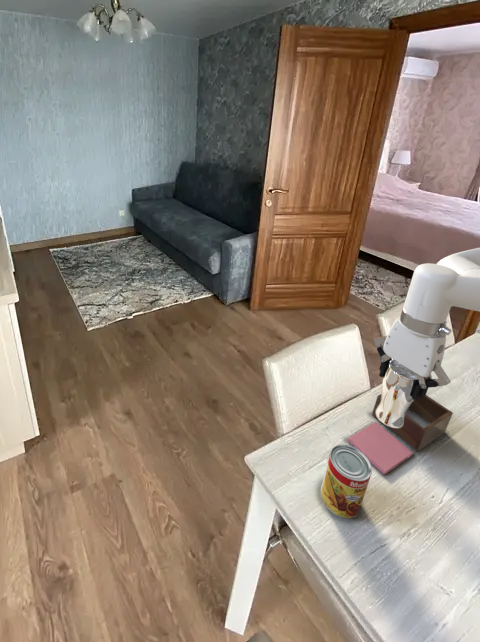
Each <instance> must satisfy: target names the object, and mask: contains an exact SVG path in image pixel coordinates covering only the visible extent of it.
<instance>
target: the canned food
mask: <svg viewBox="0 0 480 642" xmlns="http://www.w3.org/2000/svg"><path fill="white" fill-rule="evenodd" d="M372 473H373V467H372V463H371V462H370V461H369V460H368V459H367V457H366V456H365V455H364V454H363V453H362V452H360V451H359V450H358V449H356V448H355V447H354V446H353V445H349V444H344V443H341V444H336V445H334V446H333V447H332V448H331V450H330V452H329V456H328V460H327V464H326V467H325V471H324V474H323V475H324V476H323V479H322V483H321V487H320V496H321V500H322V502H323V504H324V505H325V506H326V508H327V509H328V510H329V511H330V512H331V513H332V514H334V515H335V516H337V517H340V518H341V519H353V518H355V517H357V515H358V514H359V512H360V510H361V507H362V504H363V501H364V498H365V494H366V491H367V489H368V485H369V483H370V480H371V477H372Z"/></svg>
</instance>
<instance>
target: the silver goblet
mask: <svg viewBox="0 0 480 642" xmlns="http://www.w3.org/2000/svg"><path fill="white" fill-rule="evenodd" d="M417 384H419V379H418V375H417V374H416V373H415V372H413V371H412V370H410V369H408V368H407V367H405V366H404V365H402V364H400V363H399V362H397V361H396V360H394V359H392V360H391V361H390V362H389V365H388V367H387V369H386V372H385V374H384V377H382V383H381V394H382V396H381V402H380V404H379V405H378V407H377V409H376V411H375V413H376V416H377V418H378V419H379V420H380V421H381V422H382V423H381V422H380V421H379V420H378V419H377V420H378V421H379V422H380V423H381V424H382V425H384V424H385V425H387V426H389V427H392V428H401V427H403V426H404V423H405V414H406V415H407V411H408V410H409V407H410V405H411V404H412V403H413V401H414V400H413V399H412V396H413V393H414V390H415V387H416V385H417ZM385 425H384V426H385Z"/></svg>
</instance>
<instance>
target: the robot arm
mask: <svg viewBox="0 0 480 642" xmlns="http://www.w3.org/2000/svg"><path fill="white" fill-rule="evenodd" d="M452 307H455V308H461V309H466V310H470V311H475V312H480V247H476V248H472V249H467V250H464V251H458V252H455V253H452V254H449V255H447V256H445V257H443V258H441V259H440V260H439V261H437V262H436V263H429V262H428V263H422V264H419V265H417V266H416V267H415V269H414V270H413V274H412V277H411V281H410V284H409V287H408V291H407V294H406V297H405V301H404V303H403V306H402V310H401V313H400V315H399V316H397V317H396V319H394V322H393V324H392V325H391V327H390V328H389V331H388V333H387V335H385V336H384V335H383V336H377V337H375V338H373V342H374V345H375V347H376V351H377V353H378V355H379V361H380V366H379V368H378V370H379V374H378V376H379V377H380V378H384V374H385V372H386V369H387V367H388V365H389V362H390V361H391V360H393V359H394V360H396V361H397V362H399V363H400V364H402V365H404V366H405V367H407V368H408V369H410V370H412V371H413V372H415V373H416V374H417V375H418V379H419V384H417V385H416V387H415V390H414V393H413V396H412V399H413V400H417V399H419V398H424V397H425V395H427V393H428V390H429V388H437V387H443V386H448V385H450V384H451V382H452V381H451V379H450V377H449V376H448V375H447V373H446V372H445V370H444V369H443V367H442V362H443V360H444V354H445V351H446V343H447V336H449V335H450V334H451V333H452V329H451V328H449V327H448V326H447V323H448V321H447V319H448V316H449V314H450V312H451V308H452ZM433 372H434V374H435V375H436V377H437V378H433V376H432V373H433Z"/></svg>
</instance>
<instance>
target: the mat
mask: <svg viewBox="0 0 480 642" xmlns="http://www.w3.org/2000/svg"><path fill="white" fill-rule="evenodd" d="M347 442H348V443H349V444H351V446H352V447H354V448H356V449H358V450H359V451H360V452H362V453H363V454H364V455H365V456H366V457H367V459H368V460H369V462H370V464H371V465H373V466H374V467H375V468H376V469H377V470H378V471H379V472H380V473H381V474H382V475H384V476H385V475H387V474H388V473H390V472H391V471H392V470H394V469H395V468H396V467H398V466H400V465H401V464H402V463H404V462H405V461H406V460H408V459H409V458H411V457H412V456H413V455H414V452H413V451H412V450H410V449H409V448H408V447H407V445H405V444H403V443H402V442H401V441H400V440H398V439H397V438H396V437H395V436H394V435H392V434H391V433H390V432H389V431H388V430H387V429H385V428H384V427H383V426H382V425H380V424H379V423H378V422H377V421H375V422H372V423H371V424H370V425H368V426H366V427H365V428H363V429H361V430H360V431H358V432H356V433H354V434H352V435H351V436H350V437H348V438H347Z"/></svg>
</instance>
